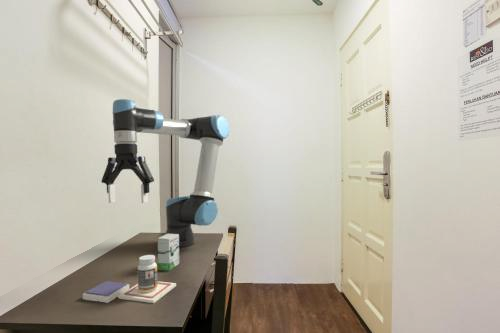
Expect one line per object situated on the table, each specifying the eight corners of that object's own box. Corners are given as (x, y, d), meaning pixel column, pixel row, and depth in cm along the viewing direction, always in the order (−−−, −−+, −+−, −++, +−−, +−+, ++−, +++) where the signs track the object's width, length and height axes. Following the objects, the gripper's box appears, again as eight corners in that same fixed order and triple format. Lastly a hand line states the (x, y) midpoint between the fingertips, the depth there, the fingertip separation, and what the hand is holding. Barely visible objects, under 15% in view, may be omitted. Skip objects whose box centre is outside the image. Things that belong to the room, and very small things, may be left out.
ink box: (169, 271, 106) (168, 238, 106) (157, 270, 107) (156, 238, 107) (180, 263, 115) (179, 233, 115) (168, 262, 116) (167, 232, 116)
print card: (144, 282, 97) (144, 279, 97) (176, 285, 93) (176, 282, 93) (118, 298, 85) (118, 295, 85) (153, 303, 82) (153, 299, 82)
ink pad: (106, 286, 94) (105, 280, 94) (129, 289, 91) (129, 283, 91) (82, 299, 85) (82, 292, 85) (107, 302, 82) (107, 295, 82)
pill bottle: (160, 289, 88) (159, 257, 88) (141, 295, 85) (140, 261, 85) (154, 283, 93) (153, 253, 93) (135, 288, 90) (134, 256, 90)
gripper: (88, 144, 104) (91, 203, 104) (150, 141, 97) (152, 204, 98) (104, 145, 111) (106, 200, 111) (162, 142, 105) (164, 200, 105)
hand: (128, 202), depth 105 cm, fingers open, 13 cm apart
